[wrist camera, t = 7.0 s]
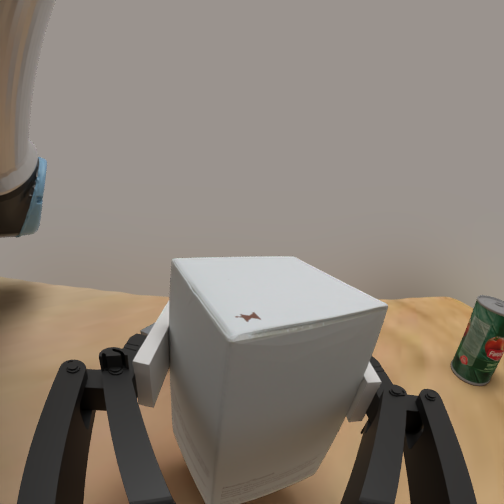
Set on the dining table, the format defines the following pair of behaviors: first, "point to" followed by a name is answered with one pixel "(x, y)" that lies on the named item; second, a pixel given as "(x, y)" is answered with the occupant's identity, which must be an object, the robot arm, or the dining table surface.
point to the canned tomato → (481, 342)
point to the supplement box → (262, 369)
